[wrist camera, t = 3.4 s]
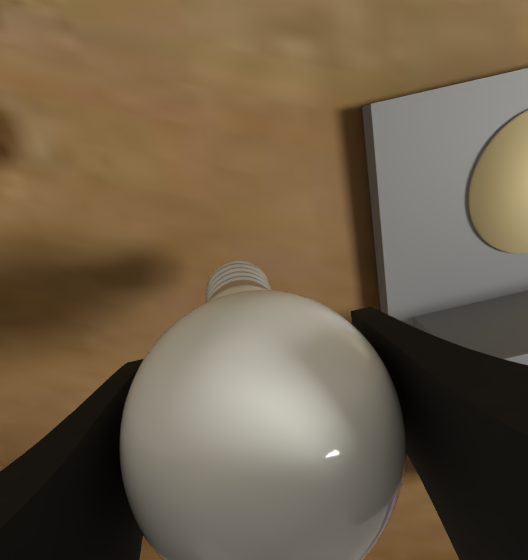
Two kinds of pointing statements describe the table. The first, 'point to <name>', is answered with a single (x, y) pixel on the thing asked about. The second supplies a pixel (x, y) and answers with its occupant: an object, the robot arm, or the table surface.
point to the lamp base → (454, 211)
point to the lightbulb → (261, 430)
